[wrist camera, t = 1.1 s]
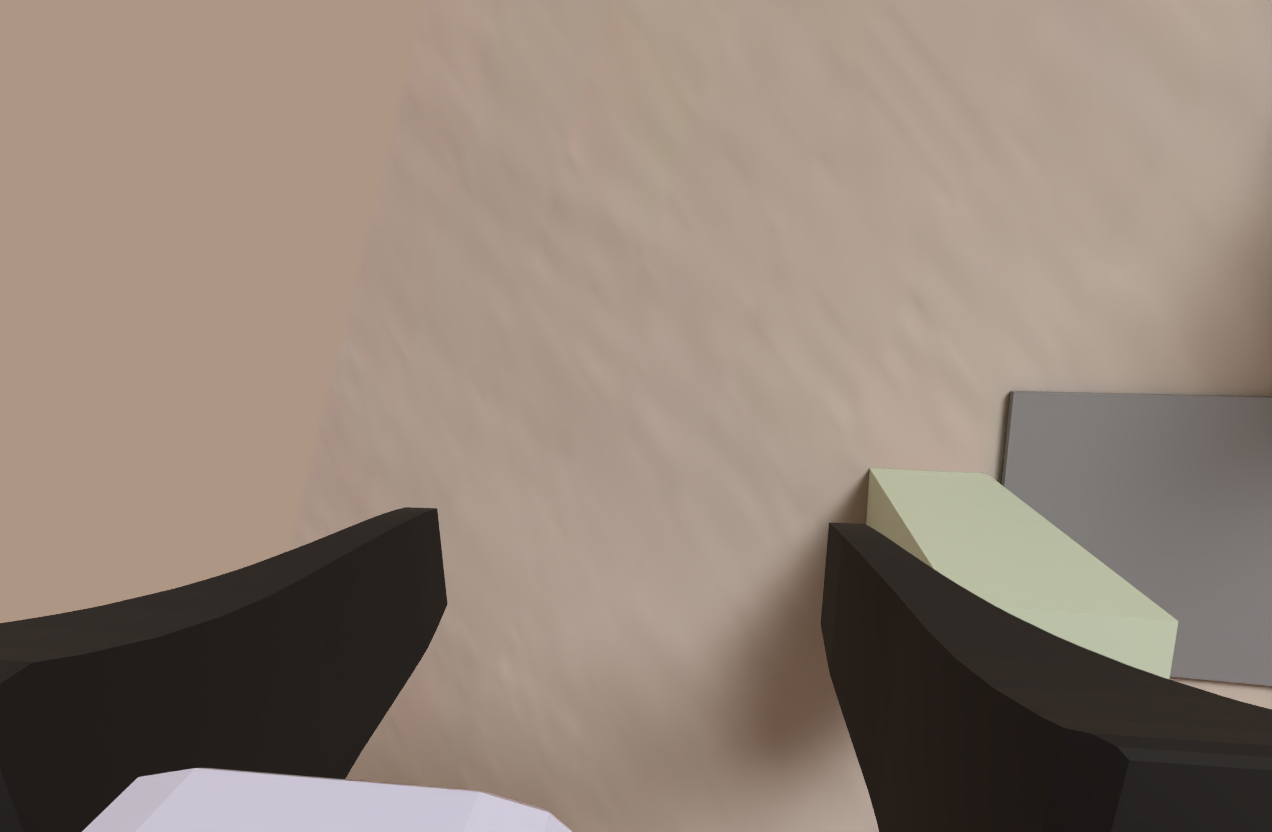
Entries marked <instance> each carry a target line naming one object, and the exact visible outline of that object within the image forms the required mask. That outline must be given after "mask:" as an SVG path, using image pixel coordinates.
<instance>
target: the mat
mask: <svg viewBox="0 0 1272 832" xmlns="http://www.w3.org/2000/svg"><path fill="white" fill-rule="evenodd" d="M1001 485H1002V486H1004V487H1005V488H1006V489H1008V490H1009V491H1010V492H1011V493H1013V494H1014V495H1015V496H1017V497H1018V498H1019V499H1021V500H1022V501H1023V502H1024V503H1026V504H1027V505H1028V506H1030V507H1031V508H1032V509H1034V510H1035V511H1036V512H1037V513H1039V514H1040V515H1041V516H1043V517H1044V518H1045V519H1046V520H1048V521H1049V522H1050V523H1052V524H1053V525H1054V526H1056V527H1057V528H1058V529H1059V530H1061V531H1062V532H1063V533H1065V534H1066V535H1067V536H1069V537H1070V538H1071V539H1072V540H1074V541H1075V542H1076V543H1078V544H1079V545H1080V546H1082V547H1083V548H1084V549H1085V550H1087V551H1088V552H1089V553H1091V554H1092V555H1093V556H1095V557H1096V558H1097V559H1098V560H1100V561H1101V562H1102V563H1104V564H1105V565H1106V566H1108V567H1109V568H1110V569H1111V570H1113V571H1114V572H1115V573H1117V574H1118V575H1119V576H1120V577H1122V578H1123V579H1124V580H1126V581H1127V582H1128V583H1130V584H1131V585H1132V586H1133V587H1135V588H1136V589H1137V590H1139V591H1140V592H1141V593H1143V594H1144V595H1145V596H1146V597H1148V598H1149V599H1150V600H1152V601H1153V602H1154V603H1156V604H1157V605H1158V606H1159V607H1161V608H1162V609H1163V610H1165V611H1166V612H1167V613H1169V614H1170V615H1171V616H1172V617H1174V618H1175V619H1176V620H1178V628H1177V634H1176V640H1175V647H1174V653H1173V659H1172V666H1171V672H1170V676H1171V677H1181V678H1192V679H1202V680H1213V681H1223V682H1234V683H1244V684H1254V685H1265V686H1272V397H1255V396H1210V395H1165V394H1120V393H1076V392H1031V391H1011V392H1010V402H1009V412H1008V422H1007V432H1006V442H1005V452H1004V462H1003V471H1002V481H1001Z"/></svg>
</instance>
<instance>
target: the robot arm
mask: <svg viewBox="0 0 1272 832" xmlns="http://www.w3.org/2000/svg"><path fill="white" fill-rule="evenodd" d="M446 606H447V596H446V587H445V578H444V568H443V559H442V550H441V541H440V531H439V522H438V513H437V509H435V508H407V507H406V508H402V509H398V510H394V511H391V512H388V513H385V514H382V515H379V516H376V517H374V518H371V519H368V520H366V521H363V522H361V523H358V524H356V525H353V526H351V527H348V528H346V529H343V530H341V531H339V532H336V533H334V534H331V535H329V536H326V537H324V538H321V539H319V540H316V541H314V542H312V543H309V544H306V545H304V546H301V547H298V548H296V549H293V550H290V551H288V552H285V553H283V554H280V555H277V556H275V557H272V558H269V559H267V560H264V561H261V562H259V563H256V564H253V565H250V566H247V567H244V568H242V569H239V570H236V571H233V572H229V573H226V574H223V575H220V576H217V577H213V578H210V579H207V580H203V581H200V582H196V583H193V584H190V585H186V586H183V587H179V588H175V589H171V590H167V591H163V592H159V593H154V594H151V595H146V596H142V597H137V598H133V599H129V600H125V601H121V602H116V603H112V604H108V605H103V606H98V607H94V608H88V609H83V610H77V611H72V612H67V613H62V614H56V615H50V616H44V617H38V618H32V619H26V620H20V621H13V622H7V623H0V832H573V831H572V830H570V829H569V828H568V827H567V826H566V825H565V824H563V823H562V822H561V821H560V820H559V819H557V818H556V817H555V816H554V815H553V814H551V813H550V812H549V811H548V810H547V809H544V808H541V807H537V806H534V805H530V804H527V803H524V802H520V801H517V800H514V799H510V798H507V797H503V796H500V795H497V794H493V793H490V792H487V791H478V790H466V789H454V788H442V787H430V786H418V785H406V784H394V783H382V782H370V781H358V780H346V779H345V778H346V777H347V775H348V773H349V772H350V770H351V768H352V766H353V765H354V763H355V761H356V760H357V758H358V756H359V755H360V753H361V751H362V750H363V748H364V747H365V745H366V744H367V742H368V741H369V739H370V737H371V736H372V734H373V733H374V731H375V730H376V728H377V727H378V725H379V724H380V722H381V720H382V719H383V717H384V716H385V714H386V713H387V711H388V710H389V708H390V707H391V705H392V704H393V702H394V701H395V699H396V697H397V696H398V694H399V693H400V691H401V690H402V688H403V687H404V685H405V684H406V682H407V680H408V679H409V677H410V676H411V674H412V673H413V671H414V669H415V668H416V666H417V665H418V663H419V662H420V660H421V658H422V657H423V655H424V653H425V652H426V650H427V648H428V646H429V644H430V642H431V640H432V638H433V636H434V634H435V631H436V629H437V627H438V625H439V622H440V620H441V618H442V615H443V613H444V611H445V608H446ZM821 627H822V633H823V639H824V645H825V651H826V656H827V661H828V666H829V671H830V675H831V679H832V682H833V685H834V688H835V691H836V694H837V697H838V701H839V704H840V707H841V710H842V713H843V716H844V719H845V722H846V725H847V728H848V731H849V734H850V737H851V740H852V743H853V746H854V749H855V752H856V755H857V758H858V761H859V764H860V767H861V770H862V773H863V776H864V779H865V782H866V785H867V788H868V791H869V795H870V798H871V802H872V805H873V809H874V813H875V816H876V820H877V824H878V828H879V832H1272V710H1271V709H1267V708H1263V707H1259V706H1255V705H1252V704H1248V703H1244V702H1240V701H1237V700H1233V699H1230V698H1226V697H1223V696H1220V695H1217V694H1213V693H1210V692H1207V691H1204V690H1201V689H1198V688H1194V687H1191V686H1188V685H1185V684H1182V683H1179V682H1176V681H1172V680H1169V679H1166V678H1163V677H1160V676H1158V675H1155V674H1152V673H1149V672H1146V671H1143V670H1140V669H1138V668H1135V667H1132V666H1129V665H1126V664H1124V663H1121V662H1119V661H1116V660H1114V659H1111V658H1109V657H1106V656H1104V655H1101V654H1098V653H1096V652H1093V651H1091V650H1088V649H1086V648H1083V647H1081V646H1078V645H1076V644H1074V643H1071V642H1069V641H1067V640H1064V639H1062V638H1060V637H1057V636H1055V635H1053V634H1051V633H1049V632H1047V631H1044V630H1042V629H1040V628H1038V627H1036V626H1034V625H1032V624H1030V623H1028V622H1026V621H1024V620H1022V619H1020V618H1018V617H1016V616H1014V615H1011V614H1010V613H1008V612H1006V611H1004V610H1002V609H1000V608H998V607H996V606H994V605H993V604H991V603H989V602H987V601H986V600H984V599H982V598H980V597H979V596H977V595H975V594H974V593H972V592H970V591H968V590H967V589H965V588H963V587H962V586H960V585H958V584H957V583H955V582H953V581H952V580H950V579H949V578H947V577H945V576H944V575H942V574H941V573H939V572H938V571H936V570H935V569H933V568H932V567H930V566H929V565H927V564H925V563H924V562H922V561H921V560H920V559H918V558H917V557H915V556H914V555H912V554H911V553H909V552H908V551H906V550H905V549H903V548H902V547H900V546H899V545H898V544H896V543H895V542H893V541H892V540H890V539H889V538H887V537H886V536H884V535H883V534H881V533H880V532H878V531H876V530H875V529H873V528H871V527H870V526H868V525H866V524H847V523H829V531H828V543H827V555H826V568H825V580H824V592H823V604H822V616H821Z"/></svg>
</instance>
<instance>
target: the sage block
mask: <svg viewBox="0 0 1272 832" xmlns="http://www.w3.org/2000/svg"><path fill="white" fill-rule="evenodd" d="M866 525H868V526H870V527H871V528H873V529H875V530H876V531H878V532H880V533H881V534H883V535H884V536H886V537H887V538H889V539H890V540H892V541H893V542H895V543H896V544H898V545H899V546H900V547H902V548H903V549H905V550H906V551H908V552H909V553H911V554H912V555H914V556H915V557H917V558H918V559H920V560H921V561H922V562H924V563H925V564H927V565H929V566H930V567H932V568H933V569H935V570H936V571H938V572H939V573H941V574H942V575H944V576H945V577H947V578H949V579H950V580H952V581H953V582H955V583H957V584H958V585H960V586H962V587H963V588H965V589H967V590H968V591H970V592H972V593H974V594H975V595H977V596H979V597H980V598H982V599H984V600H986V601H987V602H989V603H991V604H993V605H994V606H996V607H998V608H1000V609H1002V610H1004V611H1006V612H1008V613H1010V614H1011V615H1014V616H1016V617H1018V618H1020V619H1022V620H1024V621H1026V622H1028V623H1030V624H1032V625H1034V626H1036V627H1038V628H1040V629H1042V630H1044V631H1047V632H1049V633H1051V634H1053V635H1055V636H1057V637H1060V638H1062V639H1064V640H1067V641H1069V642H1071V643H1074V644H1076V645H1078V646H1081V647H1083V648H1086V649H1088V650H1091V651H1093V652H1096V653H1098V654H1101V655H1104V656H1106V657H1109V658H1111V659H1114V660H1116V661H1119V662H1121V663H1124V664H1126V665H1129V666H1132V667H1135V668H1138V669H1140V670H1143V671H1146V672H1149V673H1152V674H1155V675H1158V676H1160V677H1163V678H1166V679H1169V678H1170V672H1171V666H1172V659H1173V653H1174V647H1175V640H1176V634H1177V628H1178V620H1176V619H1175V618H1174V617H1172V616H1171V615H1170V614H1169V613H1167V612H1166V611H1165V610H1163V609H1162V608H1161V607H1159V606H1158V605H1157V604H1156V603H1154V602H1153V601H1152V600H1150V599H1149V598H1148V597H1146V596H1145V595H1144V594H1143V593H1141V592H1140V591H1139V590H1137V589H1136V588H1135V587H1133V586H1132V585H1131V584H1130V583H1128V582H1127V581H1126V580H1124V579H1123V578H1122V577H1120V576H1119V575H1118V574H1117V573H1115V572H1114V571H1113V570H1111V569H1110V568H1109V567H1108V566H1106V565H1105V564H1104V563H1102V562H1101V561H1100V560H1098V559H1097V558H1096V557H1095V556H1093V555H1092V554H1091V553H1089V552H1088V551H1087V550H1085V549H1084V548H1083V547H1082V546H1080V545H1079V544H1078V543H1076V542H1075V541H1074V540H1072V539H1071V538H1070V537H1069V536H1067V535H1066V534H1065V533H1063V532H1062V531H1061V530H1059V529H1058V528H1057V527H1056V526H1054V525H1053V524H1052V523H1050V522H1049V521H1048V520H1046V519H1045V518H1044V517H1043V516H1041V515H1040V514H1039V513H1037V512H1036V511H1035V510H1034V509H1032V508H1031V507H1030V506H1028V505H1027V504H1026V503H1024V502H1023V501H1022V500H1021V499H1019V498H1018V497H1017V496H1015V495H1014V494H1013V493H1011V492H1010V491H1009V490H1008V489H1006V488H1005V487H1004V486H1002V485H1001V484H1000V483H998V482H997V481H996V480H995V479H993V478H992V477H991V476H989V475H988V474H987V473H965V472H943V471H921V470H899V469H876V468H870V471H869V486H868V502H867V518H866Z"/></svg>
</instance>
